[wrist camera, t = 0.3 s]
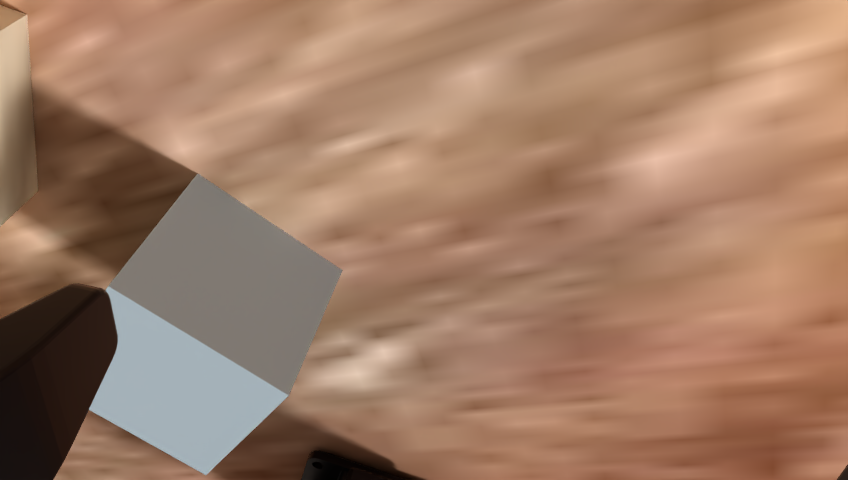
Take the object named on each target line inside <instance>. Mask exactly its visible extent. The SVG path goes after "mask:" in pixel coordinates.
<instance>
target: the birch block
mask: <svg viewBox="0 0 848 480" xmlns="http://www.w3.org/2000/svg"><path fill="white" fill-rule="evenodd" d="M37 192H38V177H37V161H36V146H35V130H34V114H33V98H32V82H31V67H30V51H29V35H28V19H27V14H24V13H22V12H19V11H16V10H13V9H10V8H7V7H4V6H2V5H0V226H1V225H3V224H4V223H5V222H6V221H7V220H8V219H9V218H10V217H11V216H12V215H13V214H14V213H15V212H16V211H17V210H19V209H20V208H21V207H22V206H23V205H24V204H25V203H26V202H27V201H28V200H29V199H30V198H31V197H32V196H34V195H35V194H36V193H37Z"/></svg>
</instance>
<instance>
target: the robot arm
mask: <svg viewBox="0 0 848 480" xmlns="http://www.w3.org/2000/svg"><path fill="white" fill-rule="evenodd" d="M117 344H118V334H117V329H116V324H115V320H114V315H113V310H112V305H111V300H110V296H109V294H108V293H107V292H106V291H105V290H104V289H102V288H97V287H92V286H88V285H83V284H70V285H68V286H65V287H63V288H61V289H59V290H57V291H55V292H53V293H51V294H49V295H47V296H45V297H43V298H41V299H39V300H37V301H35V302H33V303H31V304H29V305H27V306H25V307H23V308H21V309H19V310H17V311H15V312H13V313H11V314H9V315H7V316H5V317H3V318H1V319H0V480H53V479H54V477H55V476H56V474H57V472H58V470H59V469H60V467H61V465H62V463H63V462H64V460H65V458H66V456H67V454H68V452H69V450H70V448H71V446H72V444H73V442H74V440H75V438H76V436H77V433H78V431H79V429H80V427H81V425H82V423H83V421H84V419H85V417H86V414H87V412H88V410H89V408H90V406H91V404H92V402H93V400H94V398H95V395H96V393H97V391H98V389H99V387H100V385H101V383H102V381H103V379H104V376H105V374H106V372H107V370H108V368H109V366H110V364H111V362H112V360H113V357H114V355H115V352H116V349H117ZM301 480H405V479H402V478H399V477H396V476H393V475H390V474H387V473H384V472H381V471H378V470H375V469H372V468H369V467H366V466H363V465H360V464H357V463H354V462H351V461H349V460H346V459H343V458H340V457H337V456H334V455H331V454H328V453H325V452H321V451H313V452H311V453H310V455H309V458H308V460H307V463H306V466H305V470H304V473H303V476H302V479H301ZM837 480H848V465H847V466H846V468H845V469H844V470H843V472H842V473H841V475H840V476H839V477H838V479H837Z"/></svg>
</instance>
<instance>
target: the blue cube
mask: <svg viewBox="0 0 848 480" xmlns="http://www.w3.org/2000/svg"><path fill="white" fill-rule="evenodd" d="M341 272H342V270H341V269H340V268H338V267H337V266H335V265H334V264H332V263H331V262H329V261H328V260H326V259H325V258H323V257H322V256H320V255H319V254H317V253H316V252H314V251H313V250H311V249H310V248H308V247H307V246H305V245H304V244H302V243H301V242H299V241H298V240H296V239H295V238H293V237H292V236H290V235H289V234H287V233H286V232H284V231H283V230H281V229H280V228H278V227H277V226H275V225H274V224H272V223H271V222H269V221H268V220H266V219H265V218H263V217H262V216H260V215H259V214H257V213H256V212H254V211H253V210H251V209H250V208H248V207H247V206H245V205H244V204H242V203H241V202H239V201H238V200H236V199H235V198H233V197H232V196H230V195H229V194H227V193H226V192H224V191H223V190H221V189H220V188H219V187H217V186H216V185H214V184H213V183H211V182H210V181H208V180H207V179H205V178H204V177H202V176H201V175H199V174H197V175H196V176H195V177H194V179H193V180H192V181H191V182H190V184H189V185H188V186H187V187H186V189H185V190H184V191H183V192H182V194H181V195H180V196H179V197H178V199H177V200H176V201H175V202H174V204H173V205H172V206H171V208H170V209H169V210H168V211H167V213H166V214H165V215H164V216H163V218H162V219H161V220H160V221H159V223H158V224H157V225H156V226H155V228H154V229H153V230H152V231H151V233H150V234H149V235H148V237H147V238H146V239H145V240H144V242H143V243H142V244H141V245H140V247H139V248H138V249H137V250H136V252H135V253H134V254H133V255H132V257H131V258H130V259H129V260H128V262H127V263H126V264H125V266H124V267H123V268H122V269H121V271H120V272H119V273H118V274H117V276H116V277H115V278H114V279H113V281H112V282H111V283H110V284H109V286H108V287H107V289H106V290H105V291H106V292H107V293H108V294H109V296H110V300H111V305H112V310H113V315H114V320H115V324H116V329H117V334H118V344H117V349H116V352H115V355H114V357H113V360H112V362H111V364H110V366H109V368H108V370H107V372H106V374H105V376H104V379H103V381H102V383H101V385H100V387H99V389H98V391H97V393H96V395H95V398H94V400H93V402H92V404H91V406H90V408H89V410H90V411H92V412H94V413H96V414H97V415H99V416H101V417H103V418H105V419H106V420H108V421H110V422H112V423H113V424H115V425H117V426H119V427H121V428H122V429H124V430H126V431H128V432H130V433H131V434H133V435H135V436H137V437H139V438H140V439H142V440H144V441H146V442H148V443H149V444H151V445H153V446H155V447H156V448H158V449H160V450H162V451H164V452H165V453H167V454H169V455H171V456H173V457H174V458H176V459H178V460H180V461H182V462H183V463H185V464H187V465H189V466H190V467H192V468H194V469H196V470H198V471H199V472H201V473H203V474H205V475H207V474H208V473H209V472H210V471H211V470H212V469H213V468H214V467H215V466H216V465H217V464H218V463H219V462H220V461H221V460H222V459H223V458H224V457H225V456H226V455H227V454H229V453H230V452H231V451H232V450H233V449H234V448H235V447H236V446H237V445H238V444H239V443H240V442H241V441H242V440H243V439H244V438H245V437H246V436H247V435H248V434H249V433H250V432H251V431H252V430H254V429H255V428H256V427H257V426H258V425H259V424H260V423H261V422H262V421H263V420H264V419H265V418H266V417H267V416H268V415H269V414H270V413H271V412H272V411H273V410H274V409H275V408H276V407H277V406H278V405H280V404H281V403H282V402H283V401H284V400H285V399H286V398H287V397H288V396H289V394H290V392H291V389H292V387H293V385H294V382H295V380H296V378H297V375H298V373H299V371H300V368H301V366H302V364H303V361H304V359H305V357H306V354H307V352H308V350H309V347H310V345H311V343H312V340H313V338H314V336H315V333H316V331H317V328H318V326H319V324H320V321H321V319H322V317H323V314H324V312H325V310H326V307H327V305H328V303H329V300H330V298H331V296H332V293H333V291H334V289H335V286H336V284H337V282H338V279H339V277H340V275H341Z"/></svg>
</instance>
